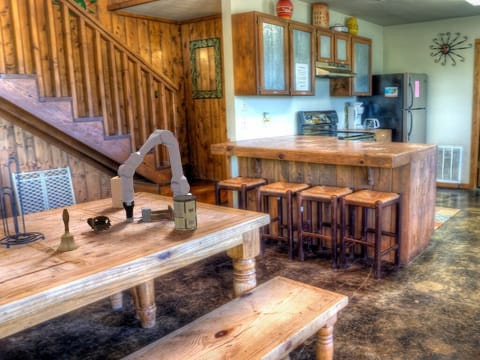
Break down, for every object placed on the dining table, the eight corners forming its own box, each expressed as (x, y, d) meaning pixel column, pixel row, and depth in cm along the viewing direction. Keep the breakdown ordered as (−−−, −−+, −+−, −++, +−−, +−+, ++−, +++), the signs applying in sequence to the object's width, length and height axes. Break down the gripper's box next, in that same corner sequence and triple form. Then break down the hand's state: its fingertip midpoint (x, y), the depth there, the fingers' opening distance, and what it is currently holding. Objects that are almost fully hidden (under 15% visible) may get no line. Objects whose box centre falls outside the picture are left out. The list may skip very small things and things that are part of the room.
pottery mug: (116, 229, 202) (115, 216, 197) (106, 243, 195) (104, 230, 190) (92, 222, 204) (90, 209, 199) (81, 236, 197) (79, 223, 192)
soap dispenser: (126, 207, 241) (123, 168, 238) (112, 207, 243) (109, 168, 239) (136, 202, 254) (134, 164, 250) (123, 202, 255) (120, 164, 252)
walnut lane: (170, 214, 223) (170, 205, 222) (173, 219, 215) (172, 209, 214) (149, 216, 220) (148, 207, 220) (151, 221, 212) (150, 211, 211)
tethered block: (150, 217, 218) (150, 206, 218) (151, 219, 214) (151, 208, 213) (126, 219, 215) (125, 208, 214) (126, 221, 211) (125, 210, 210)
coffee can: (182, 223, 206) (180, 194, 203) (201, 225, 202) (200, 195, 199) (170, 229, 197) (168, 198, 194) (189, 231, 192) (188, 200, 190)
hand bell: (72, 243, 181) (68, 205, 179) (83, 247, 176) (79, 208, 173) (53, 248, 175) (48, 209, 172) (64, 252, 170) (59, 212, 167)
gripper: (118, 187, 217) (120, 214, 219) (119, 192, 203) (121, 221, 205) (133, 186, 219) (135, 212, 221) (134, 191, 205) (136, 219, 207)
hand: (129, 217), depth 213 cm, fingers closed on tethered block, 3 cm apart
